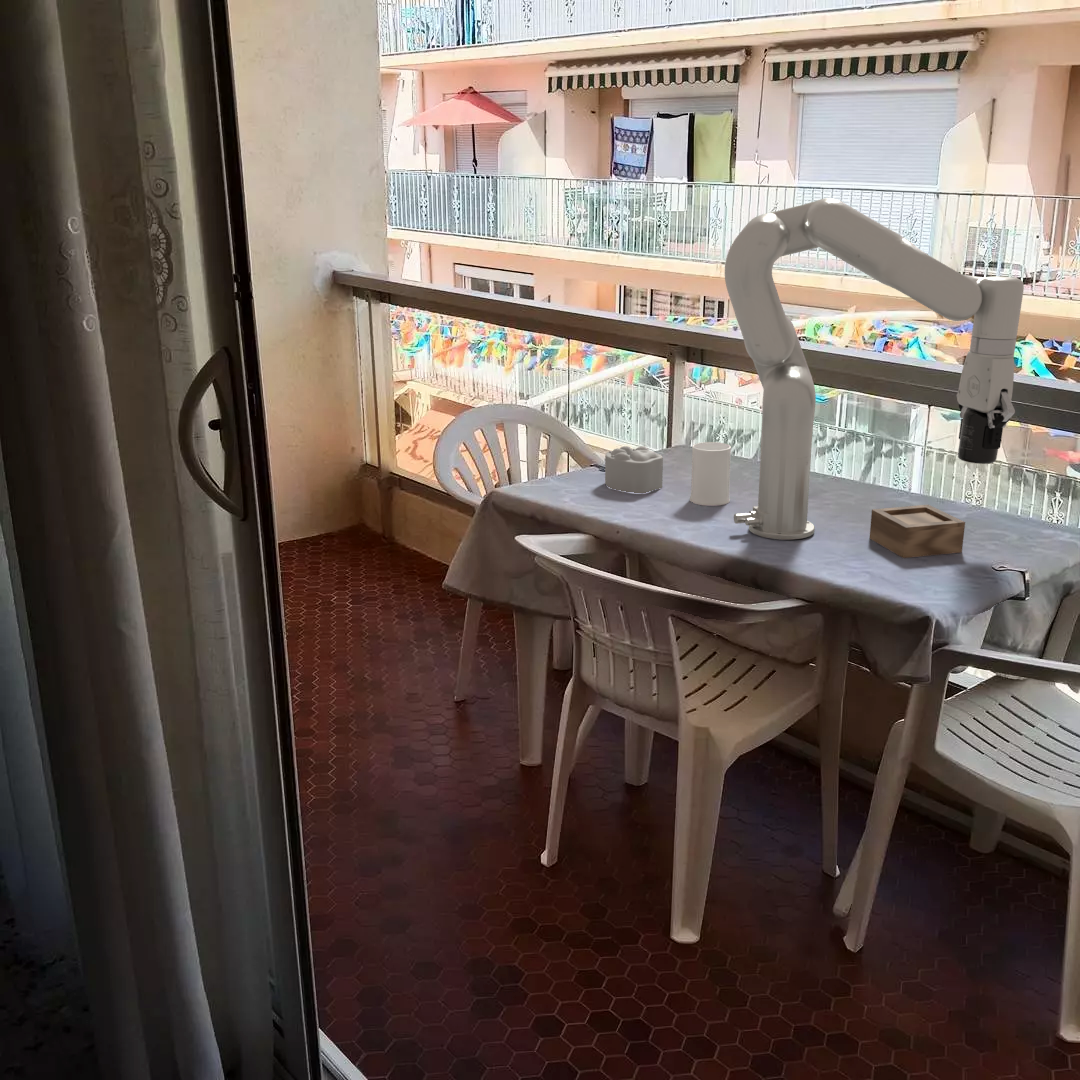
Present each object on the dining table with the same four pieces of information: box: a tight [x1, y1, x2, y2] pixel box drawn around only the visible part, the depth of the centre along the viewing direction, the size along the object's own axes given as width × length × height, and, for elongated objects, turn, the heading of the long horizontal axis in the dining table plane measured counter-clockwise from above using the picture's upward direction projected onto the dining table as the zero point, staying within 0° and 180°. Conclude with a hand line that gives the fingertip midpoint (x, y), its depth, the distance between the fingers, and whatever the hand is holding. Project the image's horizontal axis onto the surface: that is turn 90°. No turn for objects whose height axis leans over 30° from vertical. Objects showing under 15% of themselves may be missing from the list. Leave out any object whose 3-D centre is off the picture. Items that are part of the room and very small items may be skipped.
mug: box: [689, 441, 732, 507], centre depth 238 cm, size 12×8×12 cm
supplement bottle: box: [957, 408, 999, 465], centre depth 204 cm, size 7×7×12 cm
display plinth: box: [868, 504, 966, 559], centre depth 207 cm, size 12×12×6 cm
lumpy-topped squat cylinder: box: [604, 445, 664, 493], centre depth 250 cm, size 10×13×9 cm
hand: (979, 443), depth 205 cm, fingers closed on supplement bottle, 6 cm apart
